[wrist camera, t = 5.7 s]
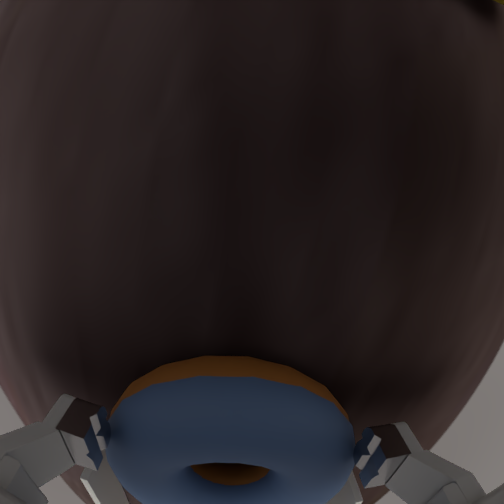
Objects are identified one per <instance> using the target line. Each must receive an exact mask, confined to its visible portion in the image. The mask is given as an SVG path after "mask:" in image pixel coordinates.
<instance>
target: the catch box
mask: <svg viewBox="0 0 504 504" xmlns="http://www.w3.org/2000/svg"><path fill="white" fill-rule="evenodd" d="M101 452H102V455H103V459H102V461H101V464H100V466H99V469H98V471H95V470H92V469H89V468H86V467H85V468H84V470H83V472H82V475H81V477H80V479H81V481H82V482H83V484H84V486H85V487H86V489H87V491H88V492H89V494H90V496H91V497H92V499H93V500H94V502H95V504H129V501H128V499H127V497H126V495H125V492H124V490H123V487H122V485H121V483H120V482H119V481H118V479H117V477H116V476H115V474H114V472H113V470H112V469H111V467H110V465H109V463H108V461H107V457H106V452H105V449H104V450H102V451H101ZM362 502H363V498H362V496H361V493H360V490H359V487H358V484H357V482H356V479H355V476H354V473H353V471H352V472H351V474H350V476H349V478H348V480H347V482H346V484H345V485H344V486H343V488H342V489H341V490H340V491H339V492H338V493H337V494H336V495H335V496H334V497H333V498H332V499H330V500H329V501H328V502H327V503H326V504H361V503H362Z"/></svg>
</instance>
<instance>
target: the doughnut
mask: <svg viewBox="0 0 504 504" xmlns="http://www.w3.org/2000/svg"><path fill="white" fill-rule="evenodd" d="M108 422H109V423H110V427H111V437H110V442H109V445H108V447H107V448H106V449H105V452H106V457H107V461H108V463H109V465H110V467H111V469H112V470H113V472H114V474H115V476H116V477H117V479H118V481H119V482H120V483H121V485H122V486H123V487H124V488H125V489H126V490H127V491H128V492H129V493H130V494H131V495H133V496H134V497H135V498H136V499H137V500H138V501H140V502H141V503H143V504H326V503H327V502H328V501H329V500H330V499H332V498H333V497H334V496H335V495H336V494H337V493H338V492H339V491H340V490H341V489H342V488H343V486H344V485H345V484H346V482H347V480H348V478H349V476H350V474H351V472H352V470H353V468H354V464H355V463H354V459H353V452H354V447H355V439H354V432H353V427H352V425H351V423H350V422H349V418H348V414H347V413H346V412H345V410H344V409H343V408H342V406H341V405H340V404H339V403H338V401H337V400H336V399H335V398H334V396H333V395H332V394H331V393H330V391H329V390H328V389H327V388H326V386H324V385H322V384H321V383H319V382H317V381H315V380H313V379H311V378H310V377H308V376H306V375H304V374H302V373H301V372H299V371H297V370H295V369H294V368H291V367H289V366H286V365H282V364H277V363H273V362H269V361H265V360H261V359H257V358H253V357H249V356H207V355H205V356H201V357H196V358H192V359H187V360H183V361H178V362H173V363H168V364H165V365H162V366H160V367H158V368H156V369H155V370H153V371H151V372H149V373H148V374H146V375H144V376H142V377H140V378H139V379H137V380H135V381H133V382H132V383H131V384H130V385H129V386H128V387H127V389H126V390H125V391H124V393H123V394H122V396H121V397H120V399H119V400H118V401H117V403H116V404H115V406H114V407H113V409H112V410H111V414H110V418H109V420H108Z"/></svg>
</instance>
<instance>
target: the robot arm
mask: <svg viewBox="0 0 504 504" xmlns="http://www.w3.org/2000/svg"><path fill="white" fill-rule="evenodd" d="M106 416H107V412H106V408H105V407H103V406H100V405H97V404H94V403H91V402H88V401H85V400H82V399H79V398H76V397H73V396H70V395H68V394H63V395H61V396H60V398H59V399H58V400H57V402H56V403H55V404H54V406H53V407H52V409H51V410H50V411H49V413H48V414H47V416H46V417H45V419H44V420H43V422H42V423H41V422H39V421H38V422H35V423H33V424H30V425H28V426H25V427H22V428H20V429H17V430H14V431H11V432H9V433H6V434H3V435H0V504H47V503H48V500H47V498H46V497H45V495H44V494H43V493H42V492H41V490H40V489H39V487H41V486H42V485H44V484H45V483H47V482H49V481H50V480H52V479H53V478H55V477H57V476H58V475H60V474H61V473H63V472H65V471H66V470H68V469H69V468H71V467H72V466H74V465H75V464H77V465H80V466H83V467H86V468H89V469H92V470H95V471H98V469H99V466H100V464H101V461H102V459H103V455H102V452H101V451H102V450H104V449H106V448H107V447H108V445H109V442H110V437H111V427H110V423H109V422H108V421H107V420H106V419H105V418H106ZM362 437H363V438H362V439H361V440H360V441H358V442H357V443H356V445H355V447H354V452H353V459H354V463H355V465H356V466H357V467H358V468H360V469H361V472H360V474H359V476H360V479H361V481H362V484H363V486H364V488H370V487H375V486H380V485H385V484H386V485H385V486H386V487H387V488H389V489H390V490H391V491H392V492H394V493H395V494H396V495H397V496H399V497H400V498H401V499H403V500H404V501H405V502H406V503H408V504H504V483H503V484H502V485H501V486H499V487H498V488H496V489H494V490H493V491H491V492H490V493H488V494H487V495H486V493H485V492H484V490H483V489H482V487H481V486H480V484H479V483H478V481H477V480H476V478H475V477H474V475H473V474H472V473H471V472H469V471H467V470H465V469H463V468H461V467H459V466H457V465H455V464H453V463H451V462H449V461H447V460H445V459H443V458H441V457H439V456H437V455H436V454H434V453H432V452H430V451H428V450H423V449H422V447H421V445H420V444H419V442H418V440H417V439H416V437H415V436H414V434H413V432H412V431H411V429H410V428H409V426H408V425H407V423H405V422H398V423H392V424H385V425H379V426H372V427H367V428H366V429H364V431H363V433H362ZM74 463H75V464H74Z"/></svg>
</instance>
